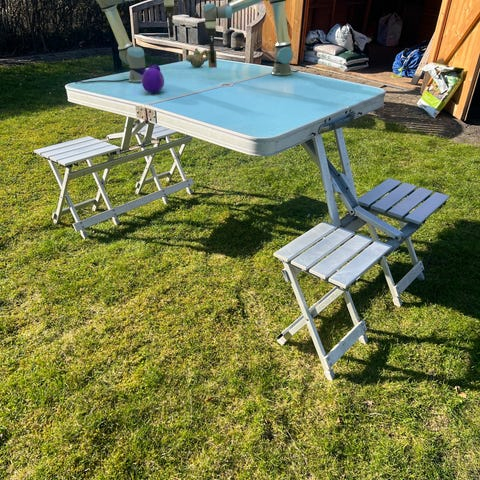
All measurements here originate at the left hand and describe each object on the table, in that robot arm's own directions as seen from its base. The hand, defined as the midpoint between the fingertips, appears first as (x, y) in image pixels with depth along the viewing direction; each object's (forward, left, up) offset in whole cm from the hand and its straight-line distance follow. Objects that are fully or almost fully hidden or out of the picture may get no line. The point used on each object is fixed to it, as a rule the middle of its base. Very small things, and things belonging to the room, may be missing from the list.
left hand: (171, 36), depth 353 cm
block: (+22, -40, -18) cm, 49 cm away
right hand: (+22, -40, -15) cm, 48 cm away
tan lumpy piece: (+24, +19, -27) cm, 41 cm away
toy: (-28, -63, -27) cm, 74 cm away
